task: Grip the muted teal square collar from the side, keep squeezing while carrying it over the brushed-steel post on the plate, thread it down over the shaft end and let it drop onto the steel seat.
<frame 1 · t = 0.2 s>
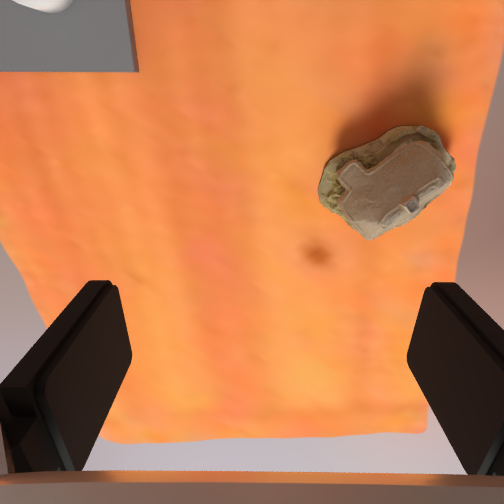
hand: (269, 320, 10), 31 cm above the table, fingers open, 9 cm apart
ceramic model: (378, 177, 40), on the table
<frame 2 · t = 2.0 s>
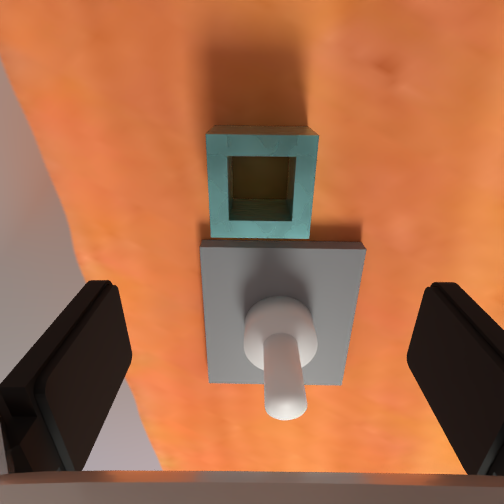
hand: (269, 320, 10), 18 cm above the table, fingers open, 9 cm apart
collar: (260, 172, 27), on the table
post plate: (277, 314, 33), on the table
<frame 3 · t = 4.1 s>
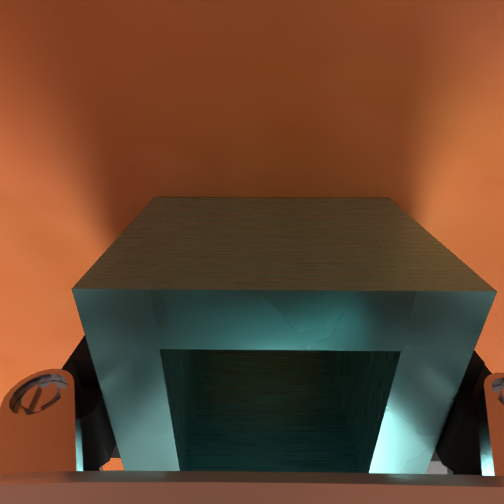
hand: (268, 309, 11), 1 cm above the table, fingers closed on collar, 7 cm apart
collar: (268, 295, 12), on the table, touching gripper
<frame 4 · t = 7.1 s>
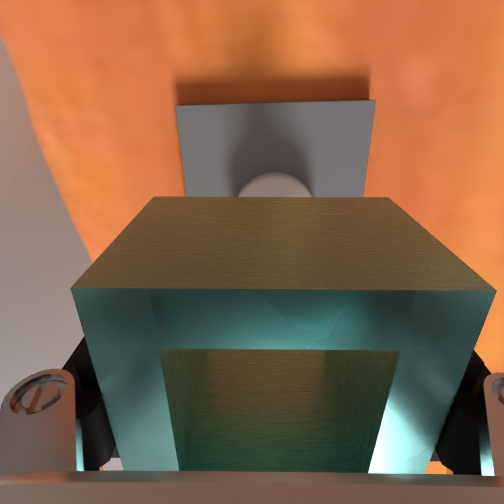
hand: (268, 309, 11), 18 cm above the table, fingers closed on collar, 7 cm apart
collar: (268, 294, 12), point 17 cm above the table, touching gripper
post plate: (273, 204, 28), on the table
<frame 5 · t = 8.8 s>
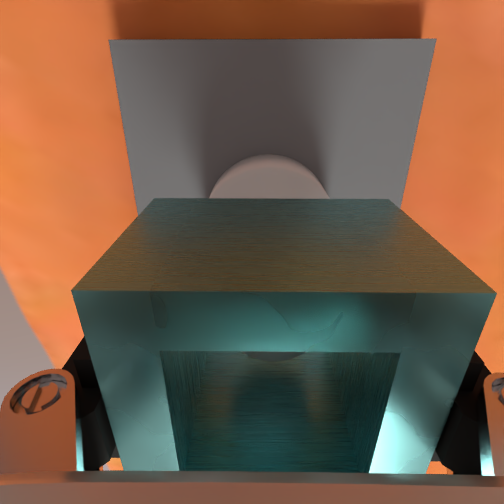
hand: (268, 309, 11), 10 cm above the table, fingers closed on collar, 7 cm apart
collar: (268, 296, 12), point 9 cm above the table, touching gripper
post plate: (266, 205, 19), on the table
when the fingers open (7 cm above the table, at t = 10.3 s): collar drops 1 cm, resting on post plate.
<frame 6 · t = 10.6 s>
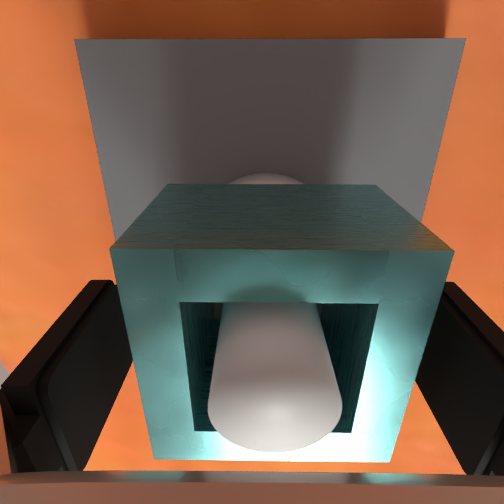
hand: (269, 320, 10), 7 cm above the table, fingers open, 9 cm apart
collar: (268, 273, 13), point 4 cm above the table, touching post plate
post plate: (264, 229, 17), on the table
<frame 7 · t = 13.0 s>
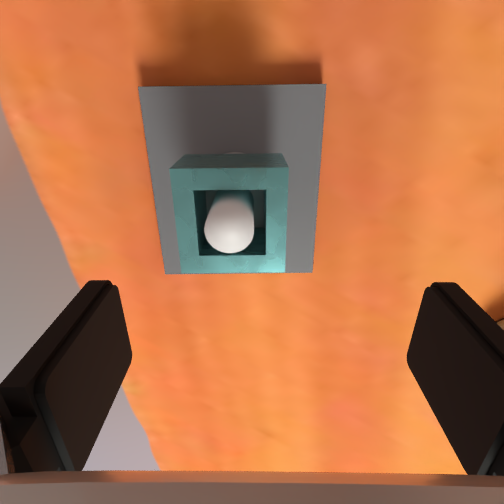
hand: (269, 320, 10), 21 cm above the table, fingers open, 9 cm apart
collar: (234, 200, 25), point 4 cm above the table, touching post plate
post plate: (236, 186, 30), on the table
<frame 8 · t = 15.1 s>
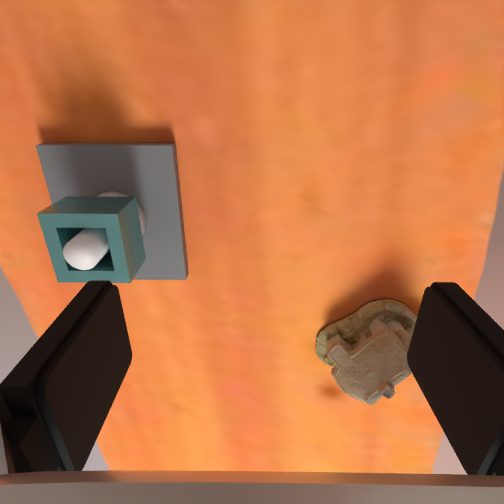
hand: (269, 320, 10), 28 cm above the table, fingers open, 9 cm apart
collar: (107, 228, 35), point 4 cm above the table, touching post plate
ceramic model: (364, 333, 47), on the table
post plate: (122, 214, 39), on the table
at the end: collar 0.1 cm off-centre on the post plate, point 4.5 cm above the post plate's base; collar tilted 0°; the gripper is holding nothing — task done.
